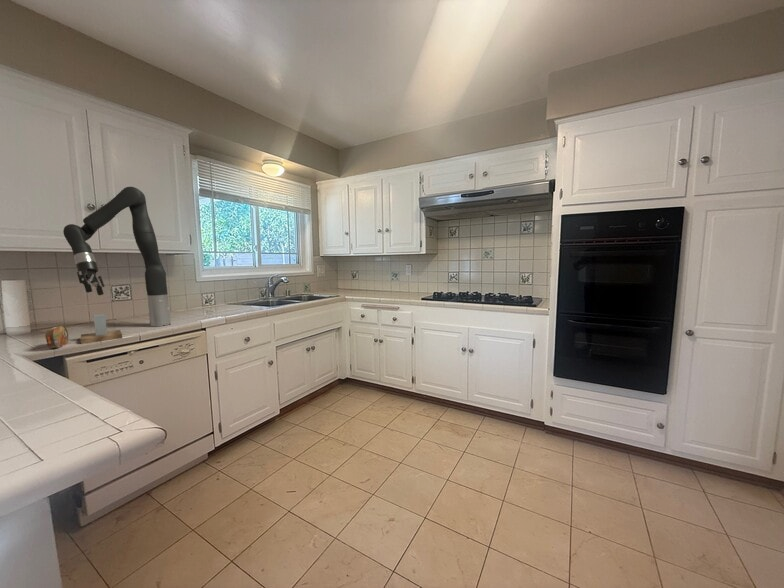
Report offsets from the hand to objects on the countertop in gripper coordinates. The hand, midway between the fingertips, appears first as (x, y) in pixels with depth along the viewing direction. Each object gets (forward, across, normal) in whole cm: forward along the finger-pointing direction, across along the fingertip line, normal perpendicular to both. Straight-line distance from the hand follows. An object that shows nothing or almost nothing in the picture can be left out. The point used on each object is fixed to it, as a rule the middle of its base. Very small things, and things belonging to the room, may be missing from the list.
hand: (95, 293), depth 160 cm
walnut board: (+24, -8, -1) cm, 26 cm away
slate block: (+22, -8, -2) cm, 24 cm away
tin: (+25, -19, +9) cm, 32 cm away
